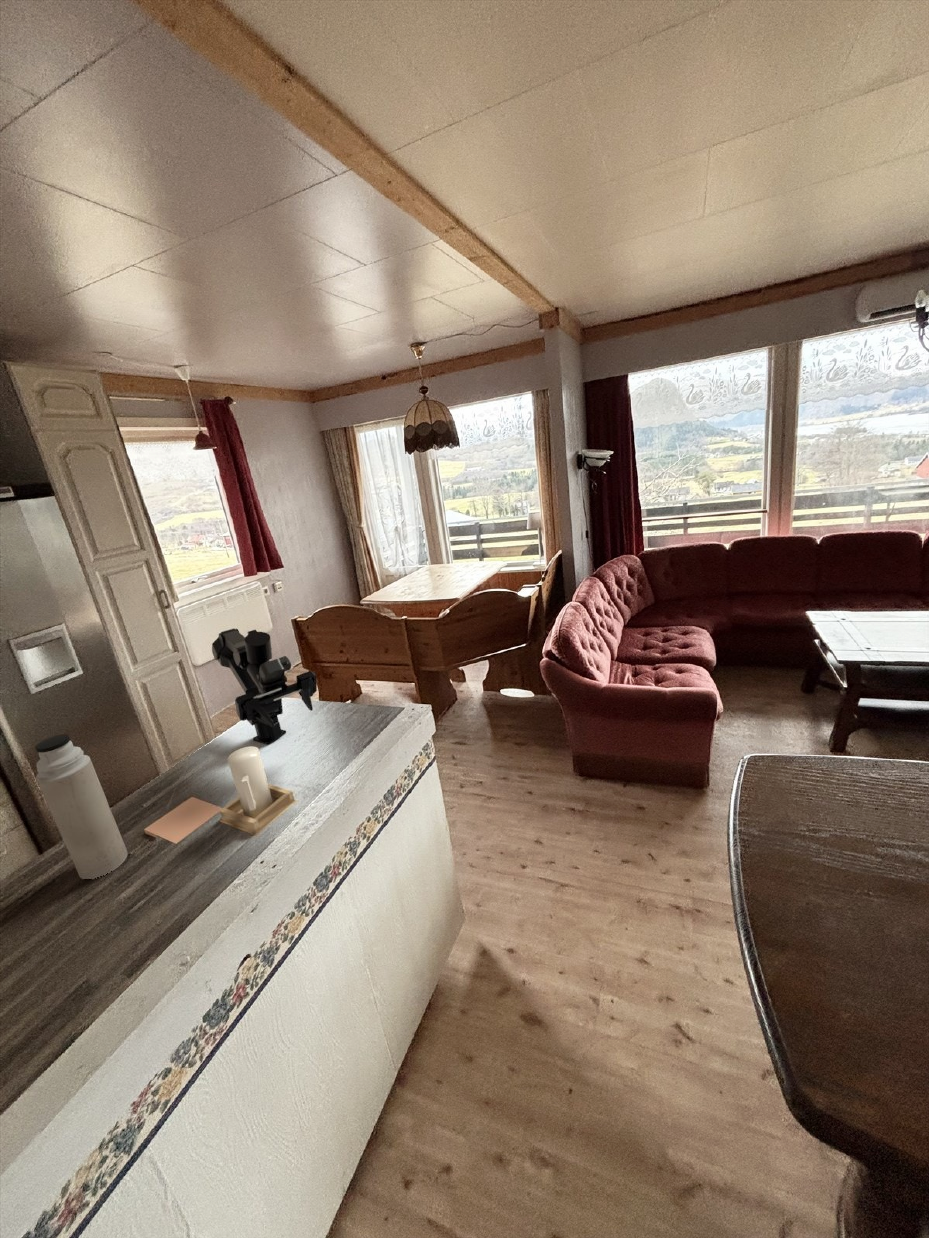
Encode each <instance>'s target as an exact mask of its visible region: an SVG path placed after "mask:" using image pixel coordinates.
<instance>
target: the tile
mask: <svg viewBox="0 0 929 1238" xmlns="http://www.w3.org/2000/svg"><path fill="white" fill-rule="evenodd" d="M223 808H224V807H221V806H218V805H214V804H213V803H210V802H207V801H204V800H202V799H199V798H196V797H194V796H191V797H190V798H188V799H187V800H185V801H183V802H182V803H180V804H179V805H177V806H176V807H175V808H174V809H171V810H170V811H169V812H167V813H166V814H165V815H163V816H162V817H160V818H158V819H157V820H155V821H154V822H153V823H151V824H150V825H148V826H147V827H145V828H144V833H145V834H147V835H149V836H151V837H153V838H155V839H157V838H158V837H160V838H161V839H164V840H166V841H169V842H170V843H173V844H175V845H176V844H178V843H179V842H181V841H182V840H183V839H185V838H186V837H187V836H189V835H190V834H191V833H193V832H194V831H196V830H197V829H198V828H200V827H201V826H202V825H203V824H205V823H206V822H207V821H209V820H211V819H212V818H213V817H214V816H215V815H217V814H218V813H220V810H221V809H223Z"/></svg>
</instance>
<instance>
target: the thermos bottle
mask: <svg viewBox="0 0 929 1238" xmlns="http://www.w3.org/2000/svg"><path fill="white" fill-rule="evenodd" d="M35 751H36V752H37V753H38V756H39V760H38V761H37V763H36V769H37V770H36V771H37V774H36V777H35V778H36V781H37V784H38V785H39V788H40V791H41V792H42V795H43V798H44V800H45V802H46V804H47V806H48V808H49V811H50V814H51V815H52V817H53V820H54V822H55V825H56V826H57V829H58V831H59V833H60V835H61V838H62V840H63V842H64V844H65V846H66V849H67V850H68V853H69V856H70V858H71V860H72V861H73V865H74V867H75V870H76V871H77V873H78V876H79V878H80V879H82V880H84V879H92V880H96V879H98V878H97V877H99V878H101V877H100V876H102V877H104V876H107V875H108V874H110V873H112V872H113V871H115V870H116V869H118V868H119V867H120V866H121V865H122V864H123V863H124V862H125V861H126V859H127V857H128V849H127V847H126V845H125V842H124V839H123V838H122V835H121V833H120V832H121V831H120V830H119V829H120V828H119V827H118V825H117V822H116V819H115V817H114V815H113V813H112V809H111V808H110V805H109V802H108V800H107V797H106V794H105V792H104V789H103V787H102V785H101V782H100V779H99V778H98V775H97V772H96V769H95V767H94V764H93V762H92V759H91V757H90V756H89V755H87V754H84V750H83V749H82V748H81V747H80V746H74V744H73V742H72V740H71V737H70V735H69V734H66V733H64V734H58V735H54V736H51V737H48V738H46V739H43V740H41V741H39V742H38V743H37V744H36V745H35ZM111 871H112V872H111ZM107 873H108V874H107ZM106 874H107V875H106ZM103 875H104V876H103ZM95 878H96V879H95Z"/></svg>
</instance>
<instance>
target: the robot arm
mask: <svg viewBox="0 0 929 1238" xmlns="http://www.w3.org/2000/svg"><path fill="white" fill-rule="evenodd" d="M271 640H272V639H271V635H270V634H269V633H267V632H264V631H258V630H256V629H252V630H249V631H247V635H246V636H244V635H243V634H241V632H240V631H239V629H238V628H231V629H225V630H223V631H221V632H220V633H218V636H217V638H216V639H215V640H214V641H213V642H212V644H211V652H212V656H213V658H214V660H215V661H217V662H218V663H219V664H220V666H221V667H225V668H228V669H230V670H231V672H232V674H233V675H234V677H235V679H236V681H237V682H238V683H239V685H240V687H241V688H242V690H243V691H244V694H242V695H239V696H236V697H235V699H234V704H235V709H236V714H237V716H238V718H239V720H240V721H247V722H248V723H249V724H250V725H251V726H254V728H255V731H256V732H255V733H256V736H254V737H253V738H252V740H253V741H255V742H258V743H262V744H265V745H270V744H272V743H273V742H274V741H276V740H278V739H279V738H280V737H282V736H284V735H285V734H287V730H285V729H282V727H281V724H280V721H279V718H278V716H279V715H282V714H283V703H282V702H283V701H282V700H283V699H284V698H286V697H289V696H291V695H294V694H296V693H298V695H299V696H300V697H301V701H302V702H303V703H304V704H305V706H306V708H307V709H308V710H309V711H311V712H312V711H313V704H312V703H313V702H312V699H311V697H313V696H314V694H315V693H316V692H317V689H318V688H317V685H318V683H317V675H316V674H315V671H312V670H309V671H306V672H303V673H301V674H298V675H296V682H295V683H292V684H289V685H287V684H286V683H287V682H288V678H287V676H286V674H285V673H286V672H288V671H290V670H291V668H292V663H291V660H290V659H289V658H288V656H287V655H284V656H281V657H279V658H275V659H272V658H273V652H272V651H273V650H272V641H271Z"/></svg>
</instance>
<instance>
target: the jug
mask: <svg viewBox="0 0 929 1238" xmlns="http://www.w3.org/2000/svg"><path fill="white" fill-rule="evenodd" d="M227 761H228V766H229V769H230V773H231V777H232V779H233V783H234V786H235V788H236V792H237V797H239V800H240V803H241V806H242V810H243V813H244V815H245V816H248V817H250V818H253V819H255V818H256V817H257V816H258V815H259V814H261V813H262V812H263V811H264V810H266V809H267V808H268V807H269V806H271V805H272V804H273V800H272V797H271V793H270V789H269V786H268V784H269V783H268V778H267V775H266V771H265V767H264V764H263V760H262V757H261V753H260V749H259V747H257V746H251V745H249V746H244V747H241V748H238V749H237V750H235V751H233V752H232V753H230V754H229V756H228V758H227Z"/></svg>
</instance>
